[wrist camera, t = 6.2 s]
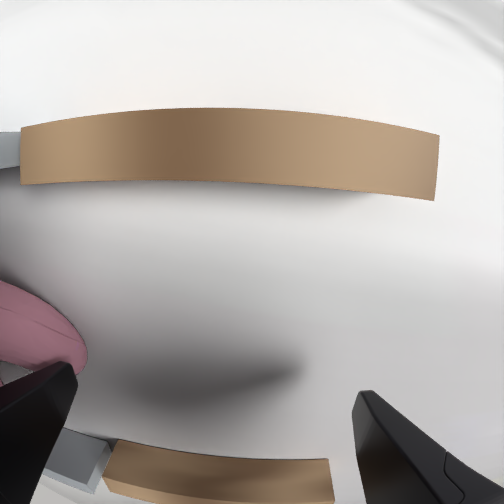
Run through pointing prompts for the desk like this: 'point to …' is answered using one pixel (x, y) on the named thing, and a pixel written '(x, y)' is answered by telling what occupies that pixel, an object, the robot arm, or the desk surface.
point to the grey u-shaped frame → (69, 442)
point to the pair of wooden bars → (228, 170)
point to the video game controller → (36, 332)
